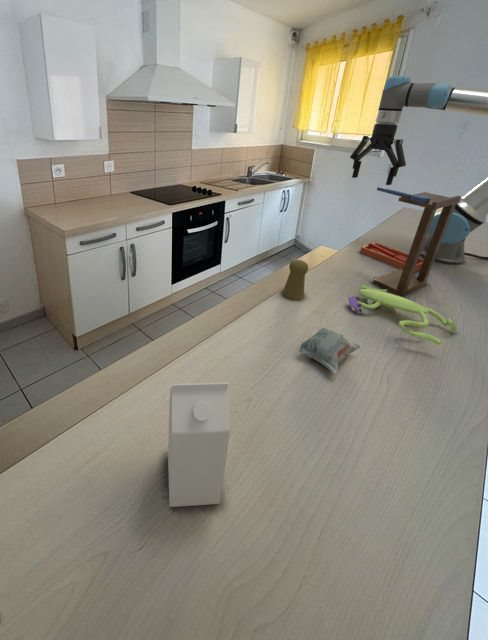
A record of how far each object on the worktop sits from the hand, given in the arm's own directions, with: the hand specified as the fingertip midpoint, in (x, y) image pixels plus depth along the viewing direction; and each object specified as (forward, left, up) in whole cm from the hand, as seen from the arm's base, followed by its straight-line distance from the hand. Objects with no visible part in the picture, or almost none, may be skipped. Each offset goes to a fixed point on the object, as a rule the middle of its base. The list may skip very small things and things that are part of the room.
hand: (370, 181), depth 126 cm
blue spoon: (-10, +32, +2) cm, 34 cm away
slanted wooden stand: (-17, +29, -27) cm, 43 cm away
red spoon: (-12, +8, -25) cm, 29 cm away
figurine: (-17, +52, -27) cm, 61 cm away
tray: (-14, +9, -27) cm, 31 cm away
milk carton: (+8, +118, -27) cm, 121 cm away
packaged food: (-4, +79, -27) cm, 84 cm away
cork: (+10, +57, -27) cm, 64 cm away
